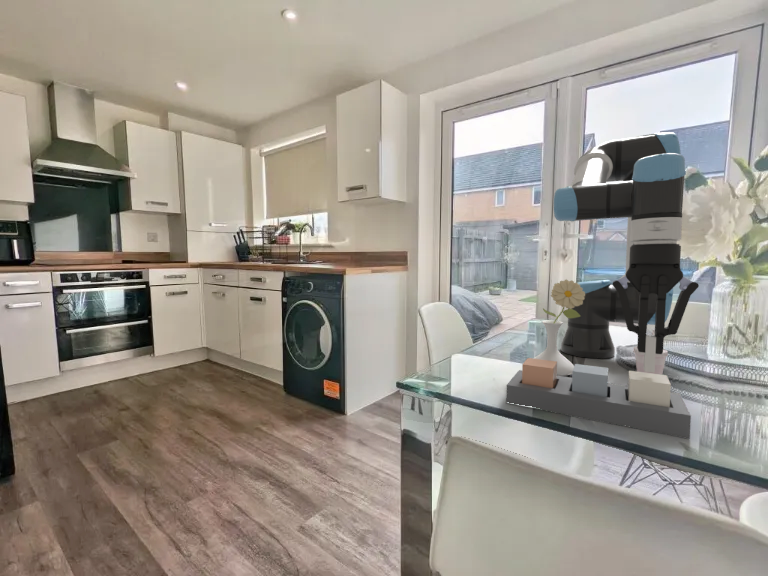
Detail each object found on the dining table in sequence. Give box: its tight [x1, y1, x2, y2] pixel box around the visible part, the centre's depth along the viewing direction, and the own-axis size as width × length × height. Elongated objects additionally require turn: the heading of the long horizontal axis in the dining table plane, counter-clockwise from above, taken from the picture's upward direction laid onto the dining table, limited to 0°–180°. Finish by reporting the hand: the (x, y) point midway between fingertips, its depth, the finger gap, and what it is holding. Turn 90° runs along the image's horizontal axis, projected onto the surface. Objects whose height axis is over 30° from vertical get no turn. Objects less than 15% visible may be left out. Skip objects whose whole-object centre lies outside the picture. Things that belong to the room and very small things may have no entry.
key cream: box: [627, 370, 672, 407], centre depth 69 cm, size 6×6×5 cm
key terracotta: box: [522, 357, 557, 389], centre depth 79 cm, size 6×6×5 cm
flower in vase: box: [532, 279, 585, 377], centre depth 96 cm, size 13×11×25 cm
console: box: [505, 369, 692, 440], centre depth 74 cm, size 12×30×4 cm, turn 58°
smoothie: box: [632, 329, 669, 375], centre depth 84 cm, size 6×6×14 cm
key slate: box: [571, 363, 609, 397], centre depth 74 cm, size 6×6×5 cm
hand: (648, 369), depth 69 cm, fingers closed
